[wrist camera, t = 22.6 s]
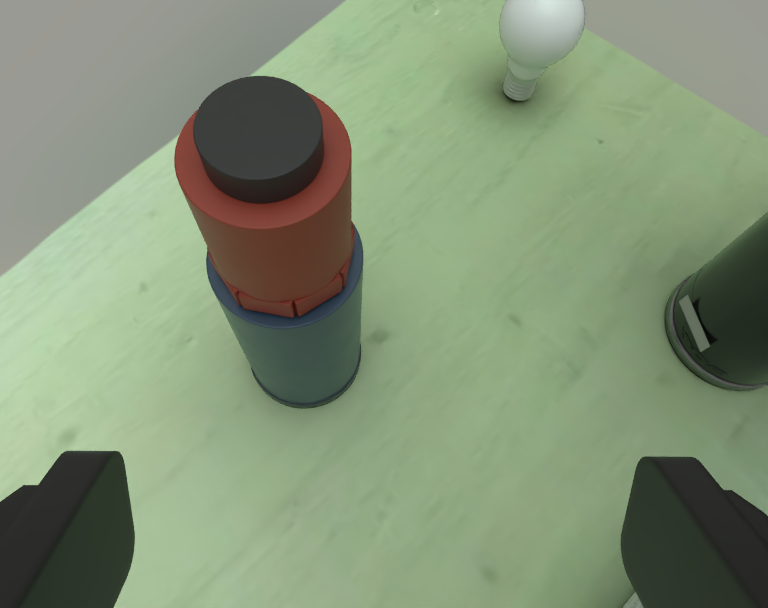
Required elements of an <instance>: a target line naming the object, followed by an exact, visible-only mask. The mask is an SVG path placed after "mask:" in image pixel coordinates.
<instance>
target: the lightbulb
mask: <svg viewBox="0 0 768 608" xmlns="http://www.w3.org/2000/svg"><path fill="white" fill-rule="evenodd" d="M584 25H585V8H584V4H583V1H582V0H506V1H505V3H504V5H503V7H502V10H501V13H500V18H499V33H500V38H501V41H502V44H503V46H504V48H505V50H506V52H507V53H508V67H509V68H508V71H507V74H506V78H505V81H504V84H503V90H504V92H505V94H506V95H507V96H508V97H510V98H511V99H514V100H518V101H522V100H526V99H528V98H530V97H531V96H532V94H533V92H534V89H535V87H536V84H537V81H538V79H539V77H540V76H541V75H542V74H543V73H544V72H545V71H546V69H547V68H548V66H551V65H553V64H555V63H557V62H559V61H560V60H562V59H563V58H565V57H566V56H567V55H568V54H569V53H570V52H571V51H572V50H573V49H574V48H575V46H576V45H577V43H578V41H579V40H580V38H581V35H582V33H583V29H584Z"/></svg>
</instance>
